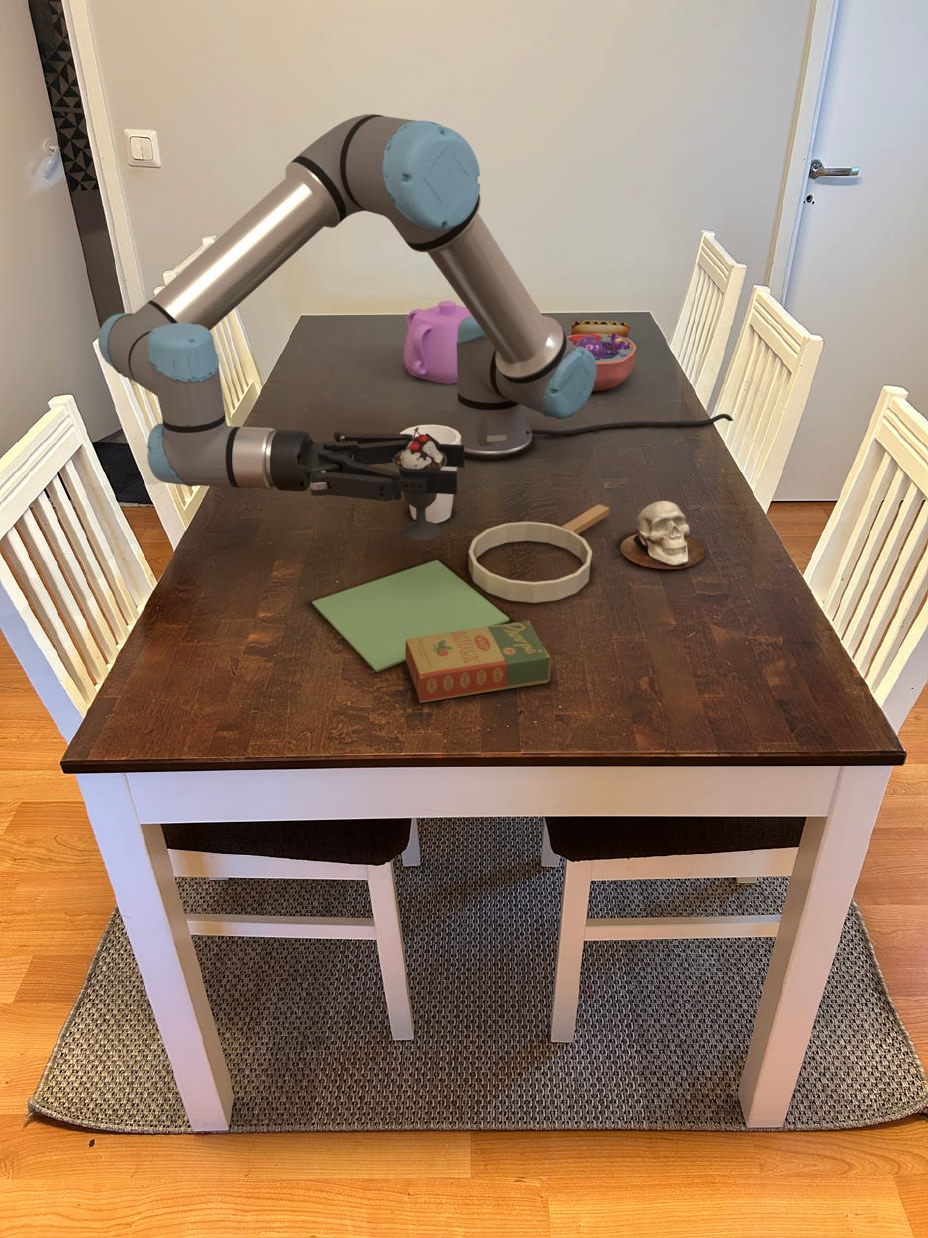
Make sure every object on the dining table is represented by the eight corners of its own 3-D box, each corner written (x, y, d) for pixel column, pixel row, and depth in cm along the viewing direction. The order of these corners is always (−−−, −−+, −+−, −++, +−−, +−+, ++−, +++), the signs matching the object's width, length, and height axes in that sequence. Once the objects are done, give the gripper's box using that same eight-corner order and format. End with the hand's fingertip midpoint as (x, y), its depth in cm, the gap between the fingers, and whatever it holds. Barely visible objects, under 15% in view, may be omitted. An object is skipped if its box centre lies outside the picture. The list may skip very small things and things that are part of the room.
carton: (405, 664, 115) (404, 635, 112) (528, 644, 118) (530, 616, 116) (420, 705, 108) (419, 676, 106) (550, 683, 112) (552, 655, 109)
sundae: (408, 549, 115) (405, 436, 106) (387, 525, 120) (381, 415, 111) (456, 537, 117) (456, 426, 109) (433, 514, 122) (431, 406, 114)
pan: (587, 512, 147) (589, 495, 146) (663, 559, 135) (666, 541, 134) (446, 560, 135) (446, 542, 134) (516, 616, 123) (517, 597, 122)
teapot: (404, 355, 208) (401, 290, 200) (496, 353, 209) (498, 288, 201) (405, 387, 192) (402, 317, 184) (505, 384, 193) (507, 314, 185)
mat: (437, 561, 135) (437, 559, 135) (509, 620, 123) (509, 618, 122) (312, 604, 126) (311, 601, 126) (376, 672, 113) (376, 669, 113)
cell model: (648, 379, 196) (654, 325, 189) (608, 410, 182) (613, 353, 176) (576, 364, 203) (580, 312, 197) (532, 393, 189) (534, 337, 183)
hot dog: (628, 348, 212) (631, 326, 210) (570, 346, 213) (571, 324, 211) (627, 341, 216) (630, 319, 214) (570, 339, 218) (571, 317, 215)
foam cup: (391, 521, 145) (388, 444, 137) (414, 496, 152) (412, 421, 144) (448, 532, 142) (448, 453, 135) (469, 505, 149) (469, 429, 142)
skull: (724, 561, 133) (687, 520, 127) (667, 607, 136) (628, 568, 130) (692, 519, 142) (655, 479, 136) (639, 562, 145) (601, 525, 139)
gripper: (300, 454, 125) (469, 463, 123) (256, 524, 109) (450, 535, 107) (294, 401, 121) (469, 409, 119) (248, 465, 105) (450, 476, 103)
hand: (460, 469), depth 113 cm, fingers closed on sundae, 7 cm apart
